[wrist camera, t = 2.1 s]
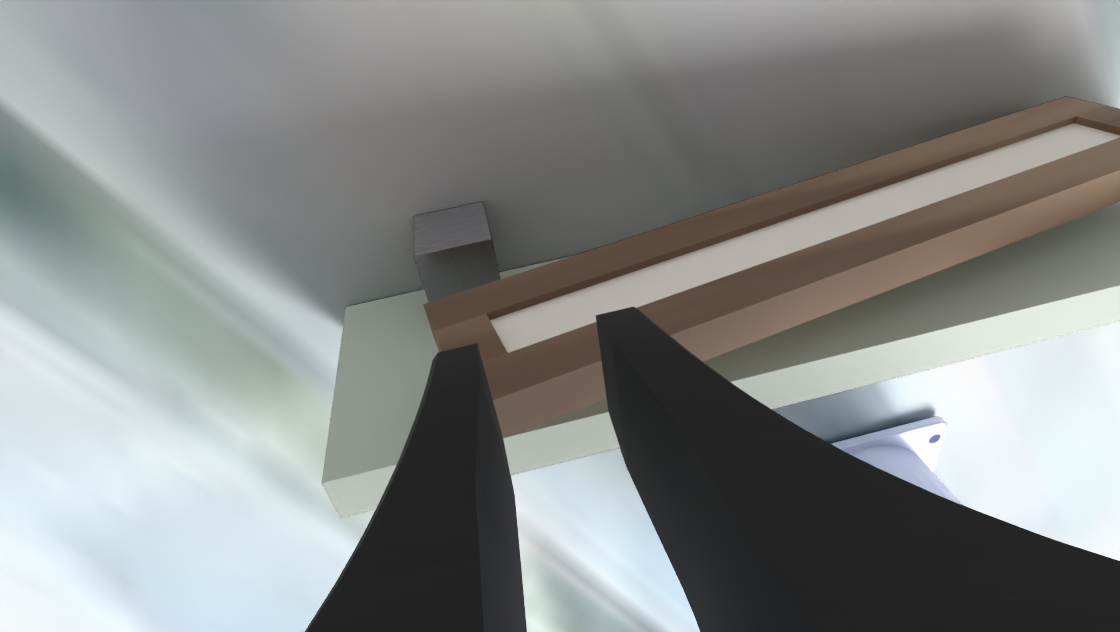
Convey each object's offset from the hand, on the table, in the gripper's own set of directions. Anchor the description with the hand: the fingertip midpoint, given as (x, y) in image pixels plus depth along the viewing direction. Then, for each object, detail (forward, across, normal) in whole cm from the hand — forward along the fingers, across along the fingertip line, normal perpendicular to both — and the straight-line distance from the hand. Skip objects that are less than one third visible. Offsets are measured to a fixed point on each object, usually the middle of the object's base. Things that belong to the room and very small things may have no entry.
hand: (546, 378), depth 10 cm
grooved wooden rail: (+7, -8, +2) cm, 10 cm away
